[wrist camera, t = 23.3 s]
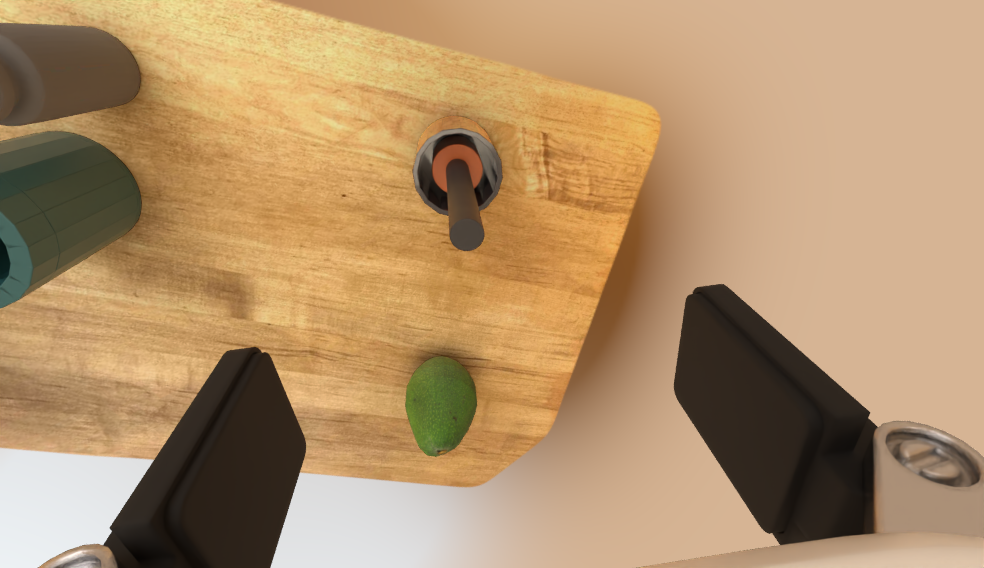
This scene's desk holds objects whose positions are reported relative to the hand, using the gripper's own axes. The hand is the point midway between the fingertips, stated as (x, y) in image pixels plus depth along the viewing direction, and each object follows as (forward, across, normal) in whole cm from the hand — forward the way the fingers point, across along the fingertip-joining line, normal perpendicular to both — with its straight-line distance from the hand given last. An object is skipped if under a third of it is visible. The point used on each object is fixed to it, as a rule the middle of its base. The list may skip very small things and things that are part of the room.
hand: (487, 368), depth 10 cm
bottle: (+36, +28, -7) cm, 46 cm away
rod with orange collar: (+35, 0, +4) cm, 35 cm away
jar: (+36, +34, +3) cm, 49 cm away
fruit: (+35, +5, +29) cm, 46 cm away
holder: (+36, 0, +4) cm, 36 cm away
